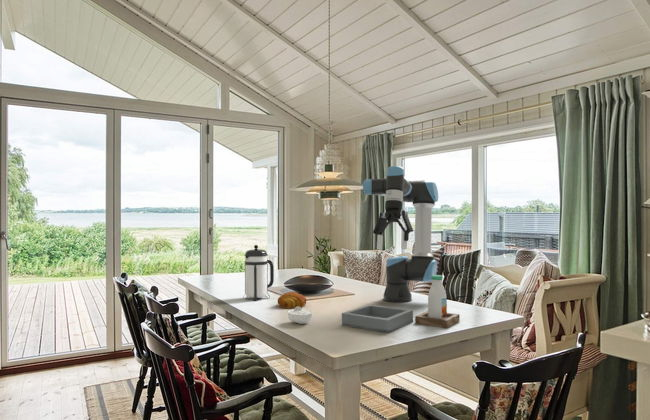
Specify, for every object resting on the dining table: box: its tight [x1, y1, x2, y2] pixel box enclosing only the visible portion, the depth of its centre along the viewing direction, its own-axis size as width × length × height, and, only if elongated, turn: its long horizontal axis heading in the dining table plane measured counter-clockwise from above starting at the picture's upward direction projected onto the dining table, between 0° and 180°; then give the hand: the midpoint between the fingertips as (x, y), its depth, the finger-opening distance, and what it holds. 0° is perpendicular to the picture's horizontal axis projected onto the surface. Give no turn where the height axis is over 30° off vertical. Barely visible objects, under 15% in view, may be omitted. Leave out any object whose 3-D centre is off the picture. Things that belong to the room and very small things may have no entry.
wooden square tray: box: [414, 310, 461, 329], centre depth 192 cm, size 14×14×3 cm
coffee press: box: [242, 244, 275, 302], centre depth 253 cm, size 17×16×30 cm
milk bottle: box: [427, 274, 448, 319], centre depth 192 cm, size 8×8×20 cm
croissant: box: [277, 291, 307, 309], centre depth 230 cm, size 14×16×8 cm
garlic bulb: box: [286, 307, 313, 325], centre depth 194 cm, size 10×12×7 cm
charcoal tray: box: [341, 304, 414, 334], centre depth 191 cm, size 22×22×5 cm
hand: (391, 249), depth 193 cm, fingers open, 13 cm apart
